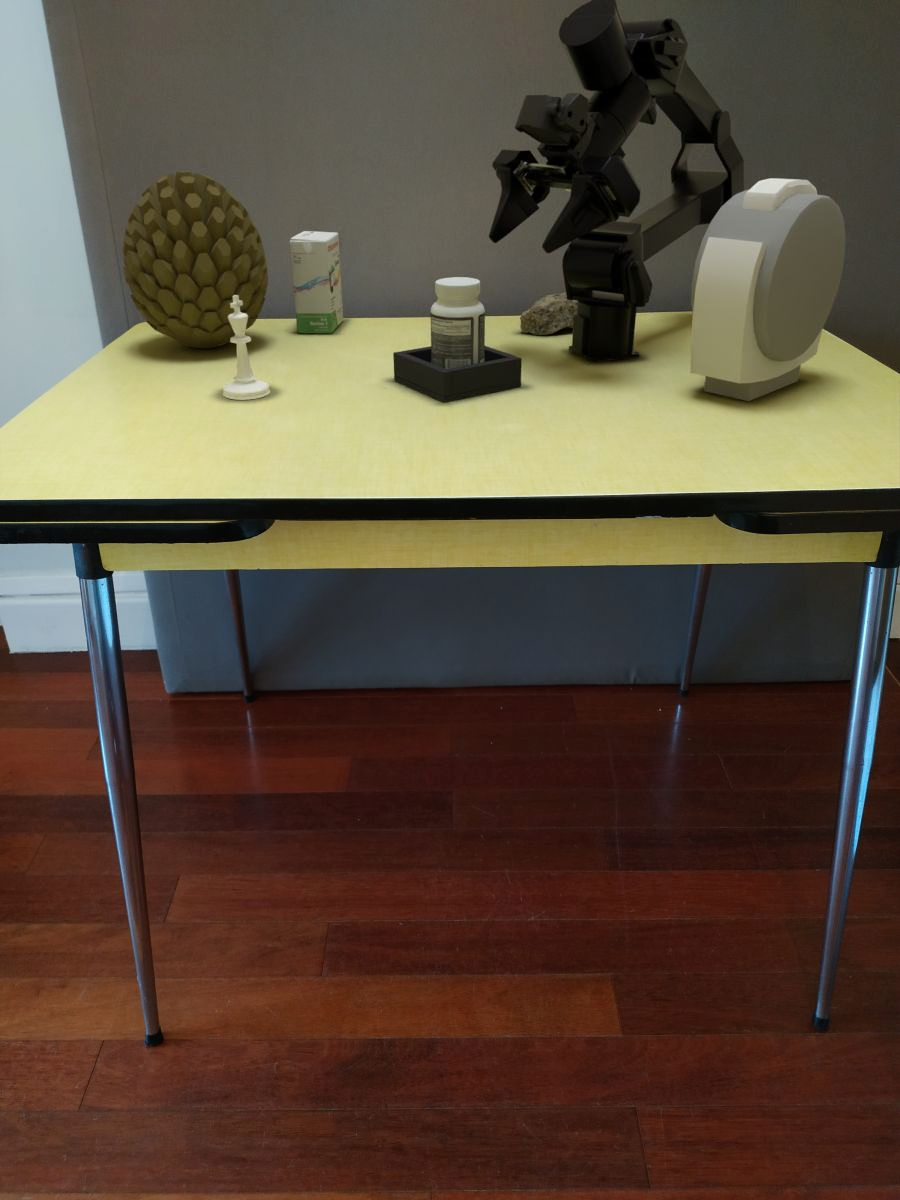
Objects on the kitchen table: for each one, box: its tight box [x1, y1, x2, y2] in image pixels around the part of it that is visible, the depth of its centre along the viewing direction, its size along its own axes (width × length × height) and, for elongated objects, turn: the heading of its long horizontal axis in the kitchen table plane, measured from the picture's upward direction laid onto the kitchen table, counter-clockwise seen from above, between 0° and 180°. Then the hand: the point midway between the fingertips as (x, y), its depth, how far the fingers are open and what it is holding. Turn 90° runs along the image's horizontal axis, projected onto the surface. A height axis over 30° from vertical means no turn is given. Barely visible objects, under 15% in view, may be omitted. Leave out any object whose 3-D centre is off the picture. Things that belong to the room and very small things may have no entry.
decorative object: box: [122, 170, 269, 350], centre depth 110 cm, size 17×17×20 cm
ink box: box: [289, 230, 344, 334], centre depth 121 cm, size 8×5×12 cm, turn 175°
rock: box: [519, 291, 578, 336], centre depth 120 cm, size 7×8×4 cm
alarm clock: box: [689, 177, 846, 402], centre depth 93 cm, size 18×8×20 cm, turn 135°
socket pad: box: [392, 345, 523, 403], centre depth 99 cm, size 10×10×3 cm
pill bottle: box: [429, 276, 486, 369], centre depth 97 cm, size 6×6×10 cm
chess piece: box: [222, 295, 271, 401], centre depth 94 cm, size 5×5×10 cm
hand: (517, 245), depth 96 cm, fingers open, 9 cm apart
